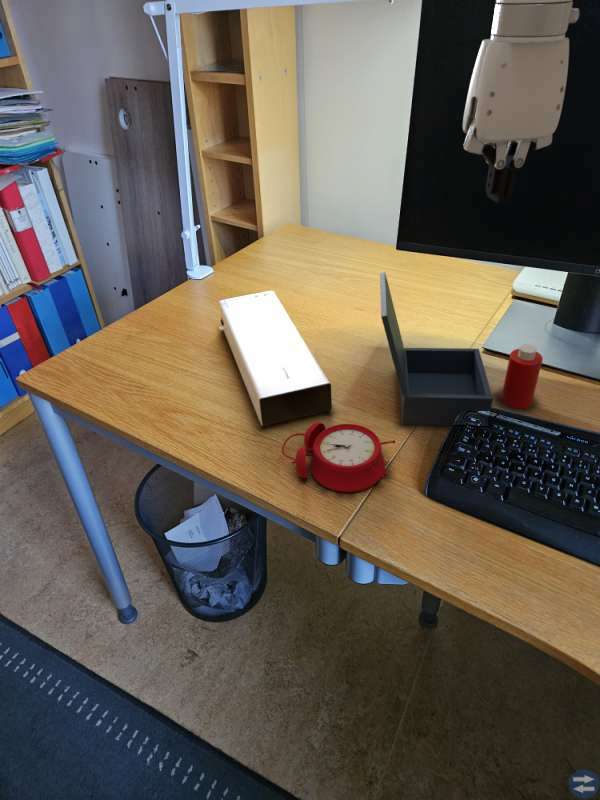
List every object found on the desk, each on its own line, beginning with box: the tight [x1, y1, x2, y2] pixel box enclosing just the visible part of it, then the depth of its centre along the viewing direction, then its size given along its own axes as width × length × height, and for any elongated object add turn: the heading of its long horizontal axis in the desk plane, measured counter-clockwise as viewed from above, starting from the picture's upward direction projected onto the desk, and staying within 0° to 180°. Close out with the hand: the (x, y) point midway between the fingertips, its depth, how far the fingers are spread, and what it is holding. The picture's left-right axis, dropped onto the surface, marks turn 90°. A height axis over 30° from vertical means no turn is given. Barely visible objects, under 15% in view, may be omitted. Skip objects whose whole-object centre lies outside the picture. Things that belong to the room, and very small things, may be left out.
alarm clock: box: [281, 421, 396, 493], centre depth 78 cm, size 10×6×15 cm
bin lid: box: [379, 272, 407, 395], centre depth 83 cm, size 13×14×1 cm
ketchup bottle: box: [500, 343, 543, 410], centre depth 86 cm, size 5×5×10 cm
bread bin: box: [399, 347, 494, 427], centre depth 88 cm, size 13×14×5 cm
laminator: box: [218, 289, 333, 428], centre depth 98 cm, size 34×12×6 cm, turn 17°
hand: (497, 198), depth 70 cm, fingers closed
